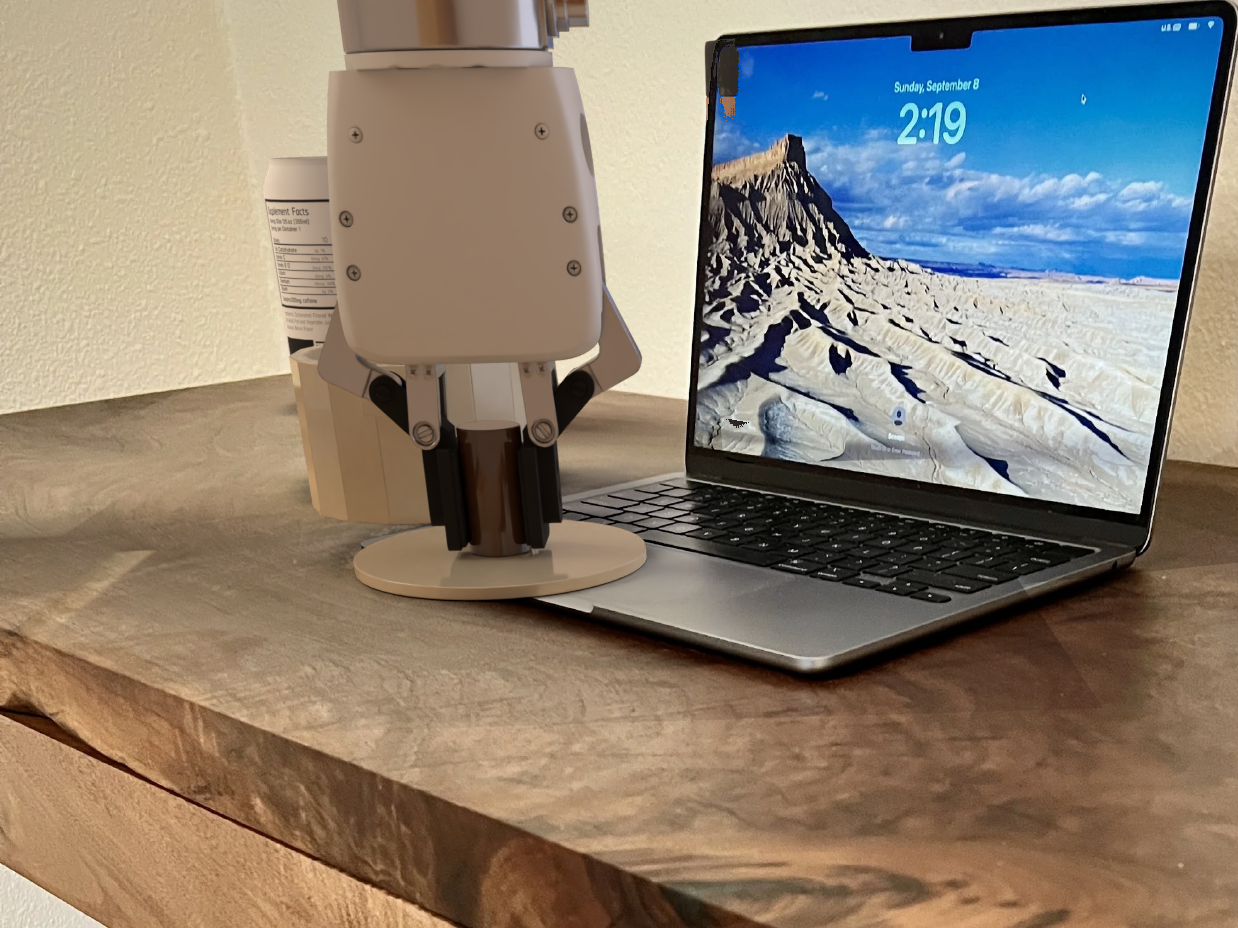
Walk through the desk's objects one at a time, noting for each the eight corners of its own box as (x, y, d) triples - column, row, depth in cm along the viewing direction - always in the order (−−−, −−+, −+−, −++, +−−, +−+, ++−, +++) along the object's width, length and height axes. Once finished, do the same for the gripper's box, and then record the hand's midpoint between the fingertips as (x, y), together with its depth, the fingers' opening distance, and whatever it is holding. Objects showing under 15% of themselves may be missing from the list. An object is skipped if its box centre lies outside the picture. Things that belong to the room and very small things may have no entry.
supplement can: (298, 420, 105) (256, 157, 97) (426, 412, 107) (394, 153, 99) (304, 440, 98) (259, 160, 91) (441, 431, 100) (407, 155, 93)
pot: (280, 552, 73) (250, 377, 69) (351, 479, 87) (329, 331, 84) (532, 545, 73) (516, 370, 69) (561, 473, 88) (549, 326, 84)
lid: (330, 619, 63) (304, 456, 60) (384, 546, 73) (364, 404, 70) (642, 611, 63) (632, 448, 60) (651, 539, 74) (643, 397, 71)
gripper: (671, 25, 62) (693, 518, 71) (246, 32, 61) (324, 528, 71) (667, 14, 55) (691, 559, 65) (192, 23, 55) (286, 570, 64)
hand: (499, 538), depth 68 cm, fingers closed on lid, 2 cm apart
